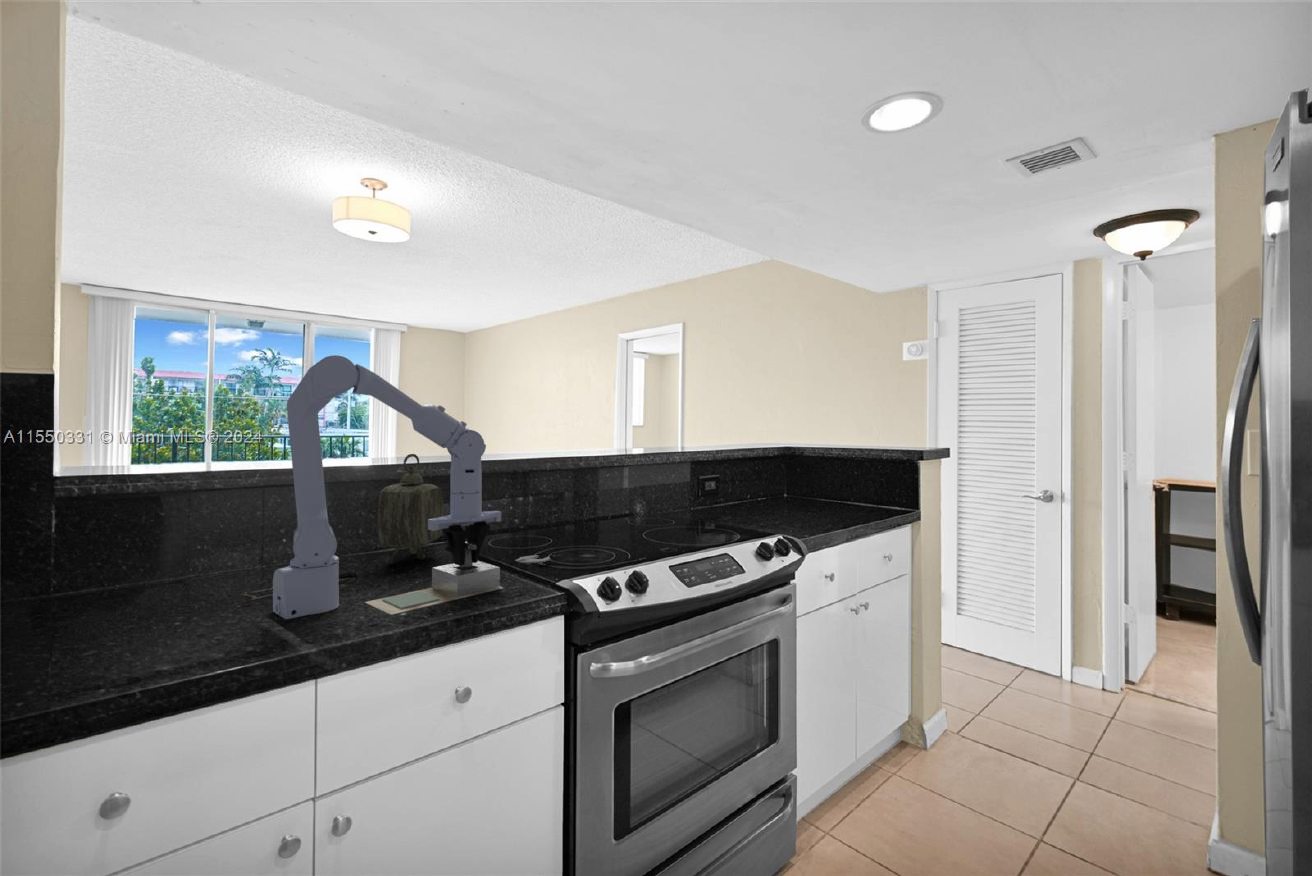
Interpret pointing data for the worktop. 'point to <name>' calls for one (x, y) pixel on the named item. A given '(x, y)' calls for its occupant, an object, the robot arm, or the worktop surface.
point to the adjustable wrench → (532, 559)
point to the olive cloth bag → (409, 513)
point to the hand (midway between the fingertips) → (466, 563)
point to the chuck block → (465, 579)
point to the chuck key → (468, 556)
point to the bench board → (394, 610)
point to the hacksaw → (341, 575)
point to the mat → (410, 600)
